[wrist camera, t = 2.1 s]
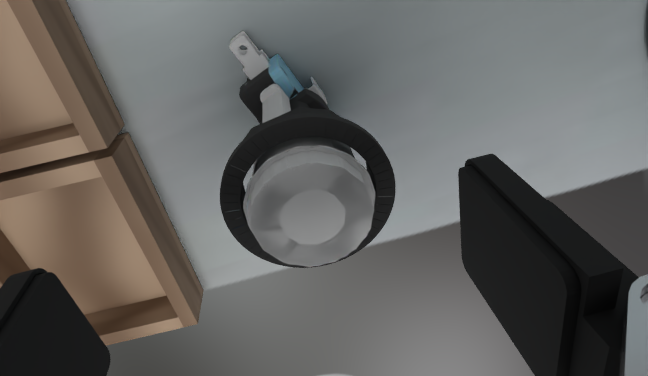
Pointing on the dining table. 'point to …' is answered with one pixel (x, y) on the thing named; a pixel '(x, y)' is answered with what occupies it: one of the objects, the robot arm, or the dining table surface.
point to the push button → (301, 172)
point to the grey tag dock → (100, 241)
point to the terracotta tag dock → (49, 87)
